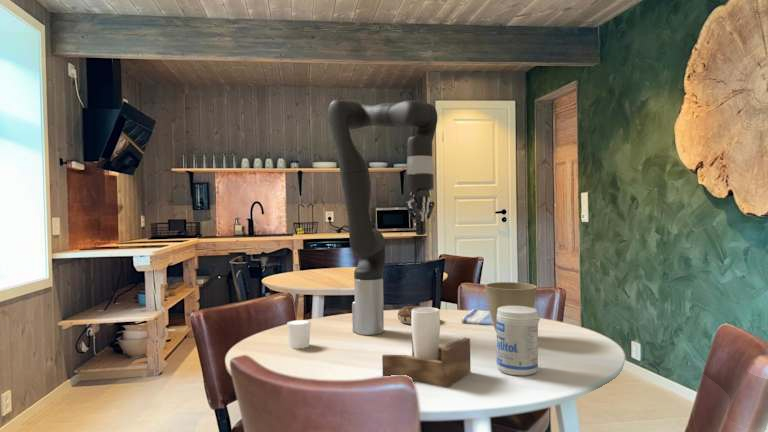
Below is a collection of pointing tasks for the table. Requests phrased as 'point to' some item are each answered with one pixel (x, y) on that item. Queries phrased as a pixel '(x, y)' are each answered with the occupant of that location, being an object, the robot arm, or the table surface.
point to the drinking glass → (425, 332)
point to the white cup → (299, 333)
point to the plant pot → (509, 296)
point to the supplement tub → (517, 340)
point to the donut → (406, 314)
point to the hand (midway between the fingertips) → (420, 234)
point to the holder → (432, 364)
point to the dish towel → (478, 317)
